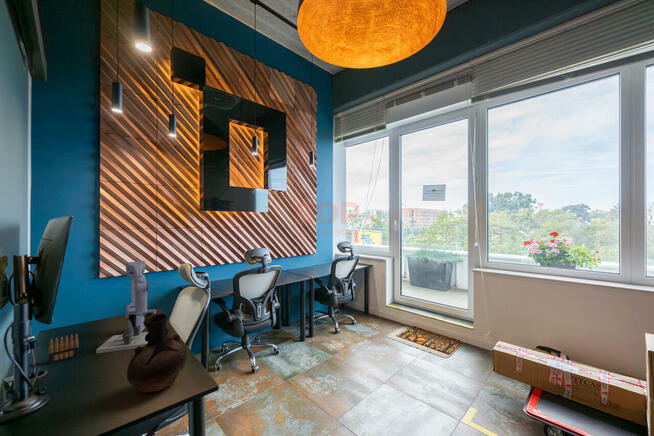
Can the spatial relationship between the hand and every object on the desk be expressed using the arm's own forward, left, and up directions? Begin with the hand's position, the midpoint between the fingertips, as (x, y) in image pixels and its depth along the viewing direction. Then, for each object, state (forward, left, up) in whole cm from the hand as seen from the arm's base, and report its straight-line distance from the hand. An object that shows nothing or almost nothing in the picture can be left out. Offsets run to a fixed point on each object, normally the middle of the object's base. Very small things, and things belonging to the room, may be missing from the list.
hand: (140, 327), depth 150 cm
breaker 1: (+6, -4, -6) cm, 10 cm away
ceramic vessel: (+52, +24, -9) cm, 57 cm away
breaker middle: (0, -7, -6) cm, 9 cm away
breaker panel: (0, -6, -8) cm, 10 cm away
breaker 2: (-6, -4, -6) cm, 10 cm away
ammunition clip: (+12, -29, -9) cm, 33 cm away
